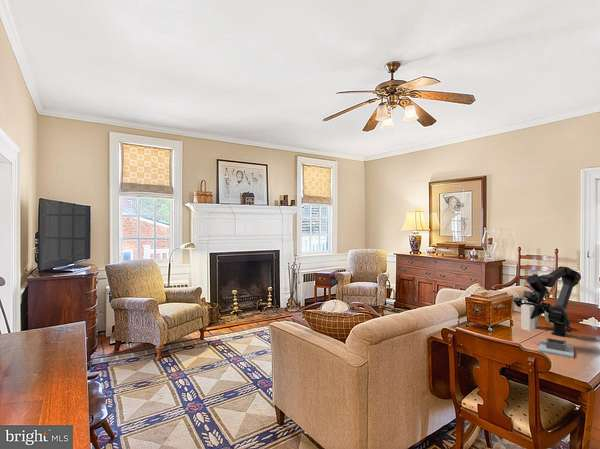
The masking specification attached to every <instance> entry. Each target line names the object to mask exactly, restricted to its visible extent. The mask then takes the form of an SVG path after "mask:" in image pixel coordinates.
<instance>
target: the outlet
mask: <svg viewBox="0 0 600 449" xmlns="http://www.w3.org/2000/svg"><path fill="white" fill-rule="evenodd" d="M538 351H541V352H540V353H544V354H549V355H556V356H561V357H567V358H571V359H574V358H575V357H574V354H575V353H574V345H573V344H567V343H566V340H563V339H562V340H561V339H555V338H550V337H546V340H543V339H540V340H539V345H538V349H537V352H538Z"/></svg>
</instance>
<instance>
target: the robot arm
mask: <svg viewBox="0 0 600 449" xmlns="http://www.w3.org/2000/svg"><path fill="white" fill-rule="evenodd" d="M581 278H582V275H581V273H580V272H578V271H577V270H574V269H572V268H570V267H568V266H558V267H557V268H556V269H554V270H553V271H551V272H550V273H548V274H542V275H538V274H535V273H533V275H530V276H528V277H527V278H526V281H525V282H526V283H527V284H528V285H529V287H530V288H531V289H532V291H527V290H524V291H523V296H522V297H523V298H525V300H524V299H523V298H521V297H514V298H513V300H512V302H514V304H515V306H516V307H518V308H521V305H524V304H528V305H533V306H535V310H534V311H533V313H532V315H531V319H533V318H535V317H537V316H538V317H539V316H540V315H543V314H544V315H545V311H546V313H548V318H549V322H551V323H553V324H552V326H553V328H552V329H553V330H552V332H551V333H550V334H551V335H554V336H560V337H567V335H568V333H567V332H566V331H567V330H566V328H567V327H570V325H571V320H570V318H569V317H568V315H569V314H568V312H567V306H568V303H569V300H570V297H571V295H572V292H573V288H574V287H575V286H577V285H578V284H579V282H580V280H582V279H581ZM559 279H560V280H561V281H562V286H561V289H560V292H559V295H558V298H557V299H556V300H557V301H556V303H555V305H554V306H553V305H552V304H551V303H549V302H545V297H546V295H549V292H550V291H549V290H548V288H553V287H554V286H555V285H556V281H558V280H559ZM526 301H528V302H526ZM549 322H548V323H549ZM551 323H550V324H551Z"/></svg>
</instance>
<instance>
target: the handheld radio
mask: <svg viewBox="0 0 600 449" xmlns="http://www.w3.org/2000/svg"><path fill="white" fill-rule="evenodd" d="M544 320H545V321H546V322H548V323H549V324H551V325H553V323H551V322H549V318H548V313H546V311H545V314H544ZM566 331H567V332H571V331H572V330H571V329H570V328H569V327H566Z"/></svg>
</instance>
